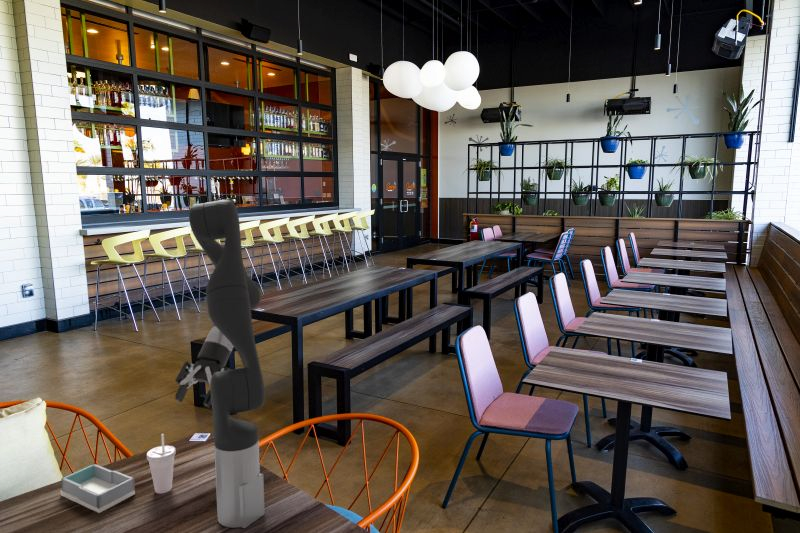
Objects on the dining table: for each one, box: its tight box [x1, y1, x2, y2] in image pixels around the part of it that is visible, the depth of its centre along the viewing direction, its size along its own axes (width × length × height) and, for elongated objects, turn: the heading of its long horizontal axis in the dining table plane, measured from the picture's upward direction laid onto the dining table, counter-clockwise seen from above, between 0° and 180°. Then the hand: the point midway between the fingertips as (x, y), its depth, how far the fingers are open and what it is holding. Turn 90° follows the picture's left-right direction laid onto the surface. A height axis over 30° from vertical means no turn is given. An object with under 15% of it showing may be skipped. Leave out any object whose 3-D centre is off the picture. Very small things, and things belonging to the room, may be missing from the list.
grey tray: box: [60, 463, 136, 514], centre depth 126 cm, size 15×9×4 cm, turn 61°
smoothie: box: [146, 433, 177, 495], centre depth 128 cm, size 6×6×14 cm
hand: (192, 403), depth 137 cm, fingers open, 8 cm apart
